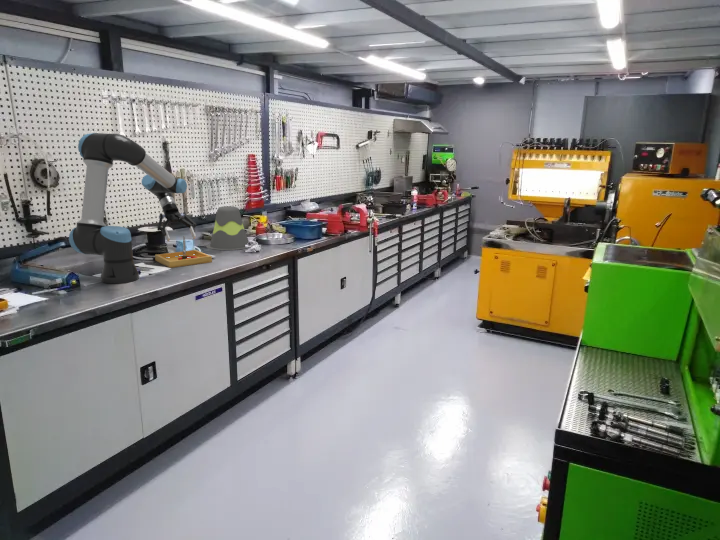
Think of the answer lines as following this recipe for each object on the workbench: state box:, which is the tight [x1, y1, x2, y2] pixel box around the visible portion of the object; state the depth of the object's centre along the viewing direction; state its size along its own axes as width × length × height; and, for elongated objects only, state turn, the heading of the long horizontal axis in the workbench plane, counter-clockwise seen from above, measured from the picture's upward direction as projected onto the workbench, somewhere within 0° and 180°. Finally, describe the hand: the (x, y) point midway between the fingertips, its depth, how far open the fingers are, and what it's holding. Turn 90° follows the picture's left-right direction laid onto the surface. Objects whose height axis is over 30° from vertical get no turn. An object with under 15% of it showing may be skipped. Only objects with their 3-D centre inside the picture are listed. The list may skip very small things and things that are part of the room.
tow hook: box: [178, 235, 197, 260], centre depth 250 cm, size 8×13×9 cm
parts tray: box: [154, 249, 213, 269], centre depth 249 cm, size 22×20×3 cm
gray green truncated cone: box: [205, 205, 250, 251], centre depth 290 cm, size 28×28×24 cm
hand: (182, 238), depth 249 cm, fingers open, 13 cm apart
